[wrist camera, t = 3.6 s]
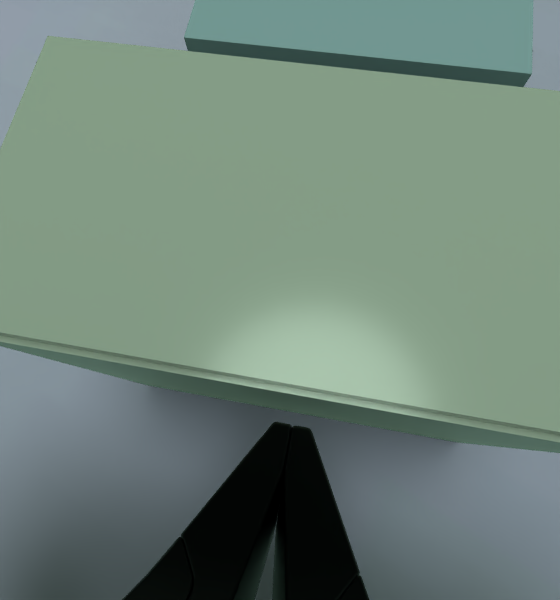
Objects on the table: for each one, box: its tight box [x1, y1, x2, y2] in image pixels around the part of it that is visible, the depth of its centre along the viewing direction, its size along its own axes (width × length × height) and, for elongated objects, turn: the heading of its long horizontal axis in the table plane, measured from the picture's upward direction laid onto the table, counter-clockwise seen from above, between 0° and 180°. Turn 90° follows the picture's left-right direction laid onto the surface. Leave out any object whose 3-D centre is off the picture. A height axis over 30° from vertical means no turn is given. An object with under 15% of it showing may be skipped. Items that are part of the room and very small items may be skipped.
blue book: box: [184, 0, 533, 87], centre depth 14 cm, size 4×7×10 cm, turn 80°
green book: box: [0, 36, 560, 453], centre depth 12 cm, size 6×12×11 cm, turn 80°
